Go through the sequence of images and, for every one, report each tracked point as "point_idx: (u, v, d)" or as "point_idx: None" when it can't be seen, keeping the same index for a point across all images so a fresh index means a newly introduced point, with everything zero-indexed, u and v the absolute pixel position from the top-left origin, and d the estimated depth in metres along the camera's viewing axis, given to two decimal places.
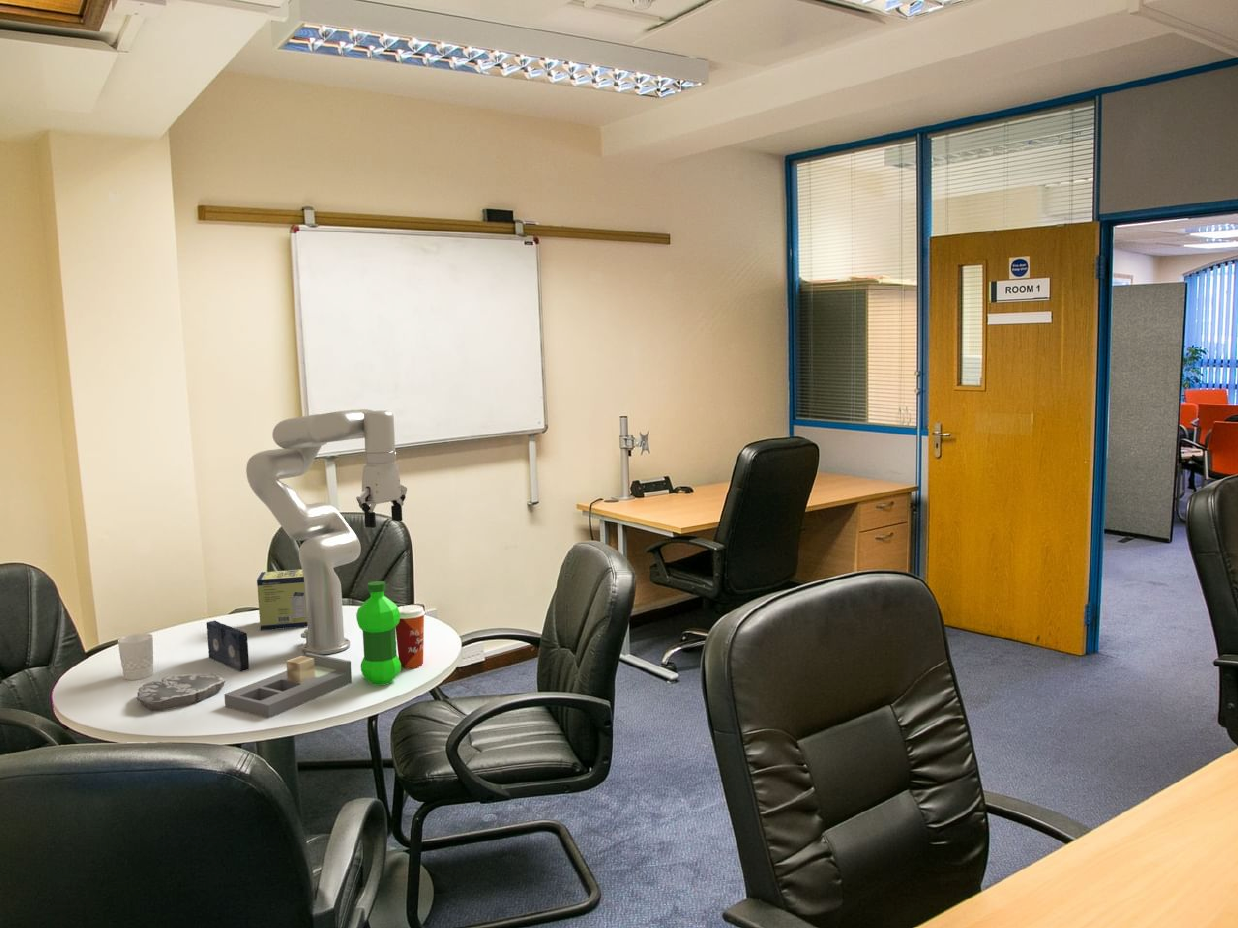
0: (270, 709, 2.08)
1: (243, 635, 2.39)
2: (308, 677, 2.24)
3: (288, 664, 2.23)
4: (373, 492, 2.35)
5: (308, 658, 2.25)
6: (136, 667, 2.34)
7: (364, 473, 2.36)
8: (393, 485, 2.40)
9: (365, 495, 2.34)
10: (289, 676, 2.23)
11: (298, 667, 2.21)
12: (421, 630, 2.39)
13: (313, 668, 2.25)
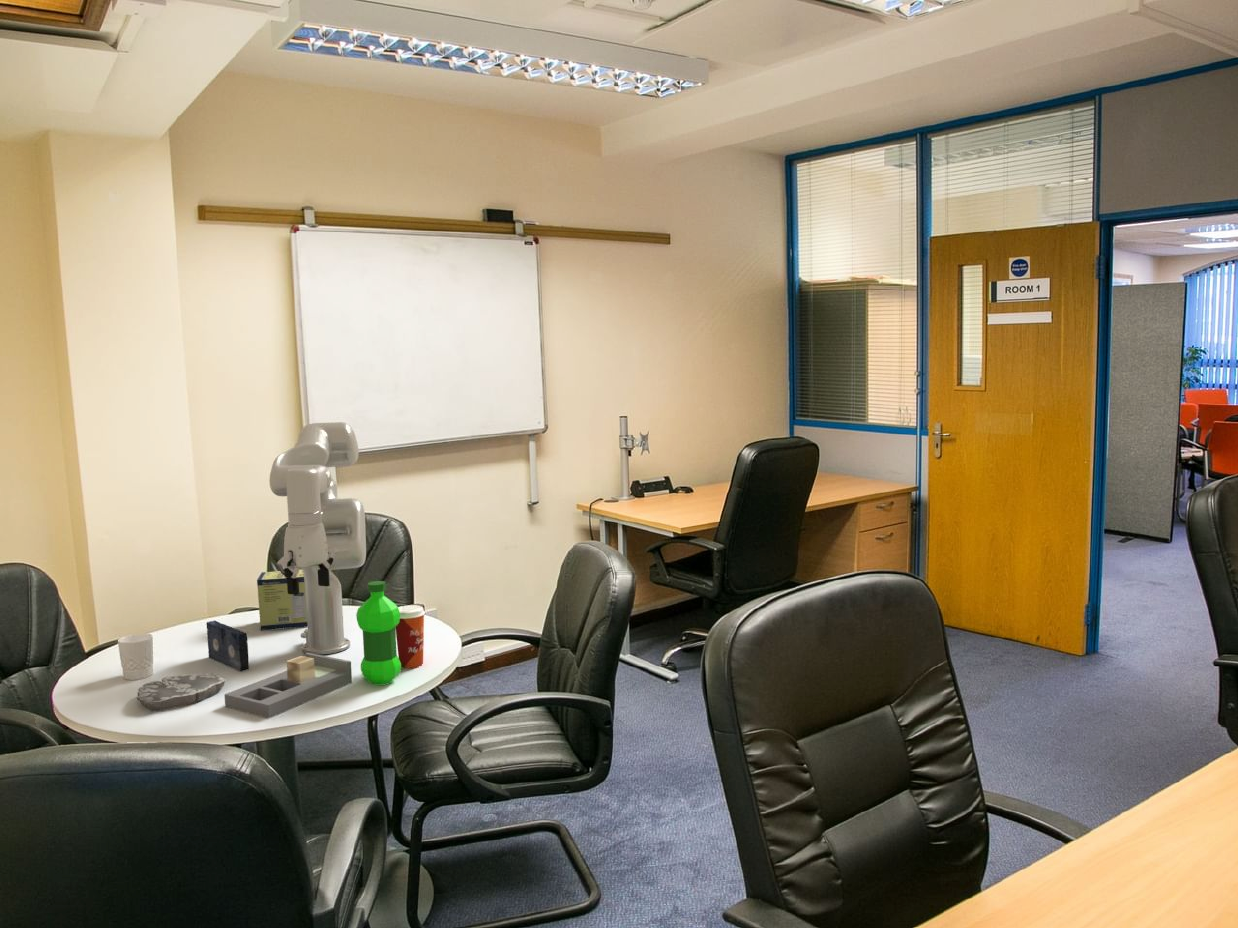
0: (270, 709, 2.08)
1: (243, 635, 2.39)
2: (308, 677, 2.24)
3: (288, 664, 2.23)
4: (296, 556, 2.17)
5: (308, 658, 2.25)
6: (136, 667, 2.34)
7: (286, 536, 2.18)
8: (319, 547, 2.23)
9: (287, 560, 2.16)
10: (289, 676, 2.23)
11: (298, 667, 2.21)
12: (421, 630, 2.39)
13: (313, 668, 2.25)
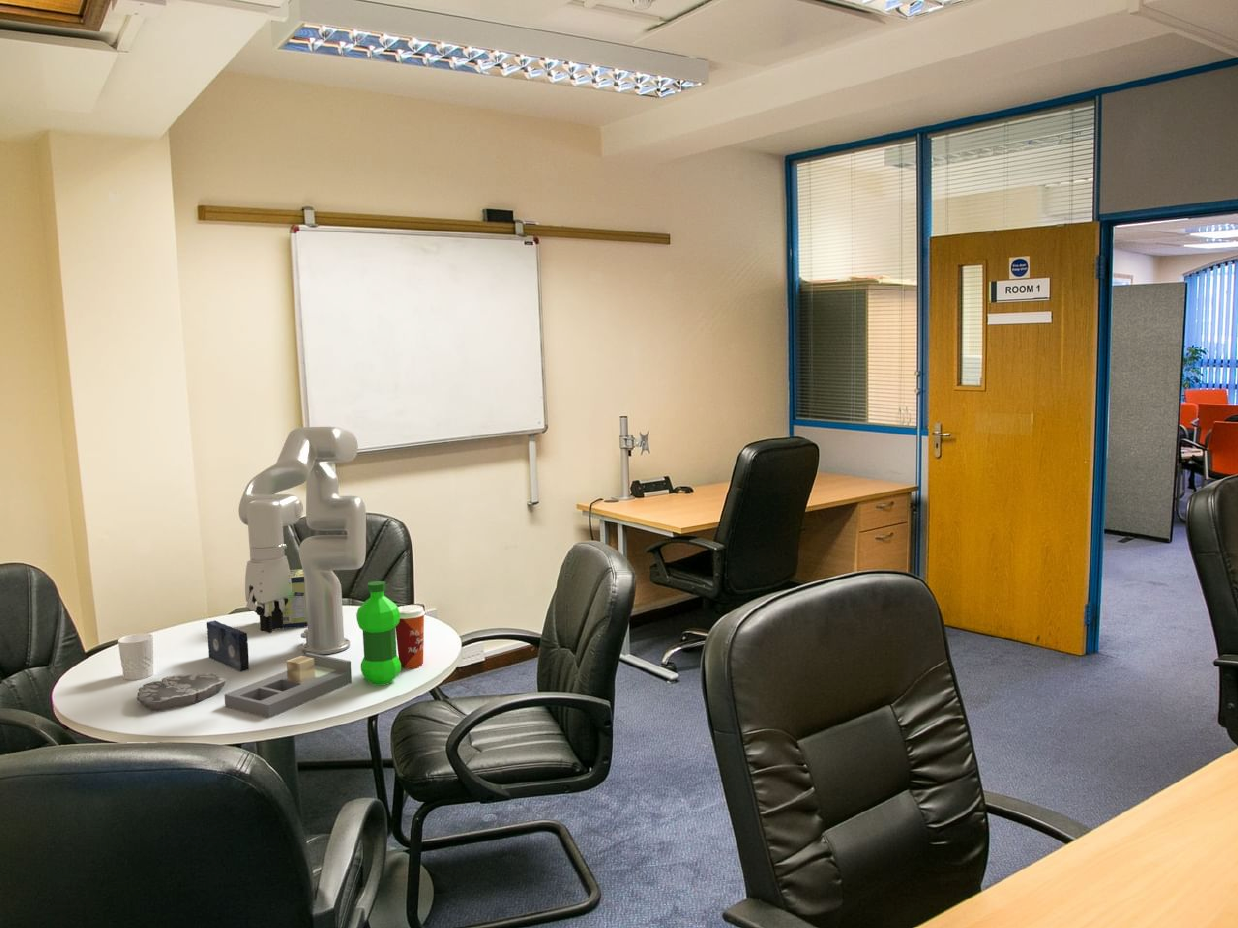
0: (270, 709, 2.08)
1: (243, 635, 2.39)
2: (308, 677, 2.24)
3: (288, 664, 2.23)
4: (256, 592, 2.10)
5: (308, 658, 2.25)
6: (136, 667, 2.34)
7: (247, 570, 2.11)
8: (282, 581, 2.15)
9: (254, 600, 2.11)
10: (289, 676, 2.23)
11: (298, 667, 2.21)
12: (421, 630, 2.39)
13: (313, 668, 2.25)
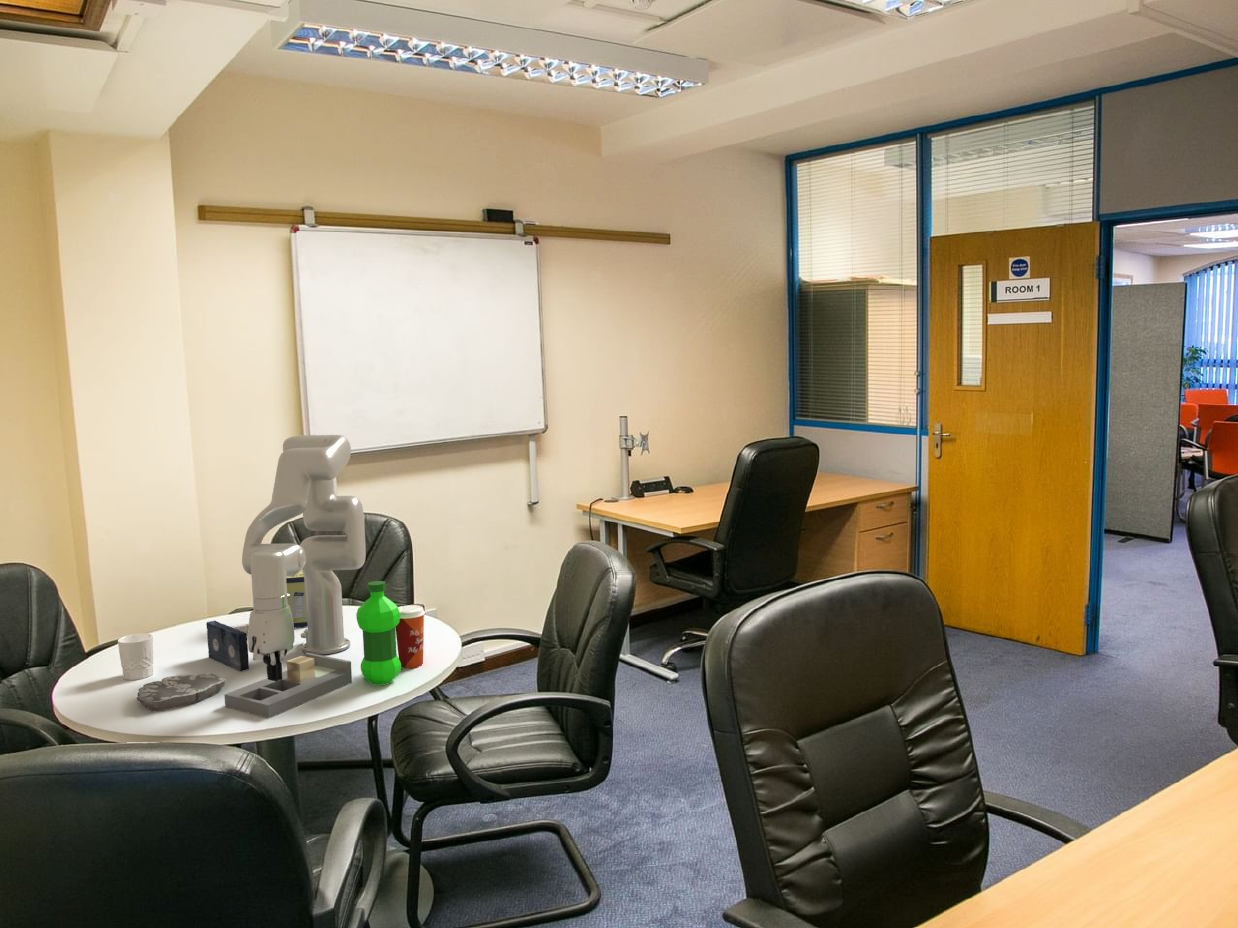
0: (270, 709, 2.08)
1: (243, 635, 2.39)
2: (308, 677, 2.24)
3: (288, 664, 2.23)
4: (259, 643, 2.11)
5: (308, 658, 2.25)
6: (136, 667, 2.34)
7: (250, 621, 2.12)
8: (285, 631, 2.17)
9: (259, 651, 2.13)
10: (289, 676, 2.23)
11: (298, 667, 2.21)
12: (421, 630, 2.39)
13: (313, 668, 2.25)
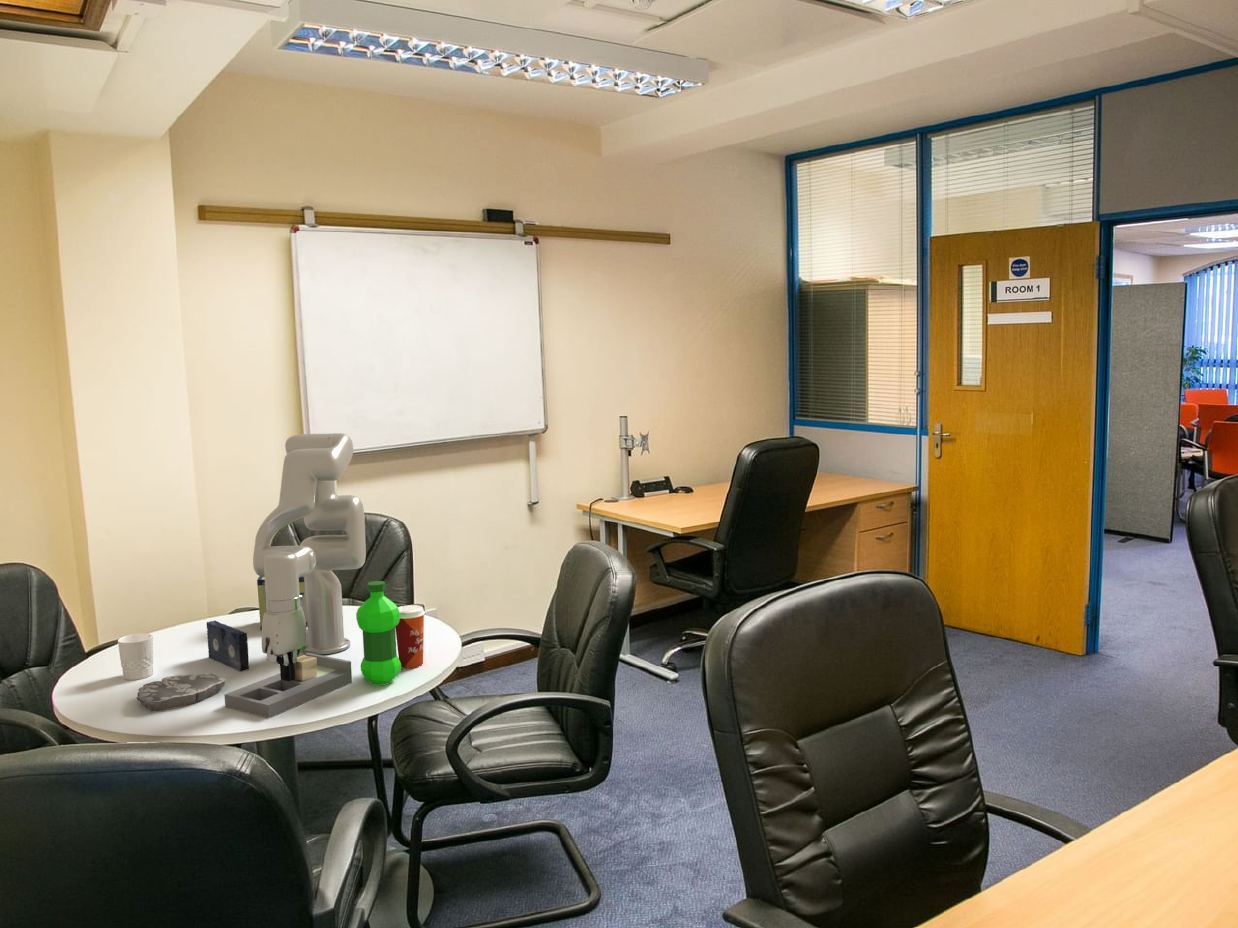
0: (270, 709, 2.08)
1: (243, 635, 2.39)
2: (310, 676, 2.24)
3: None
4: (273, 644, 2.15)
5: (311, 657, 2.25)
6: (136, 667, 2.34)
7: (264, 622, 2.16)
8: (297, 632, 2.20)
9: None
10: None
11: (300, 665, 2.22)
12: (421, 630, 2.39)
13: (315, 667, 2.25)
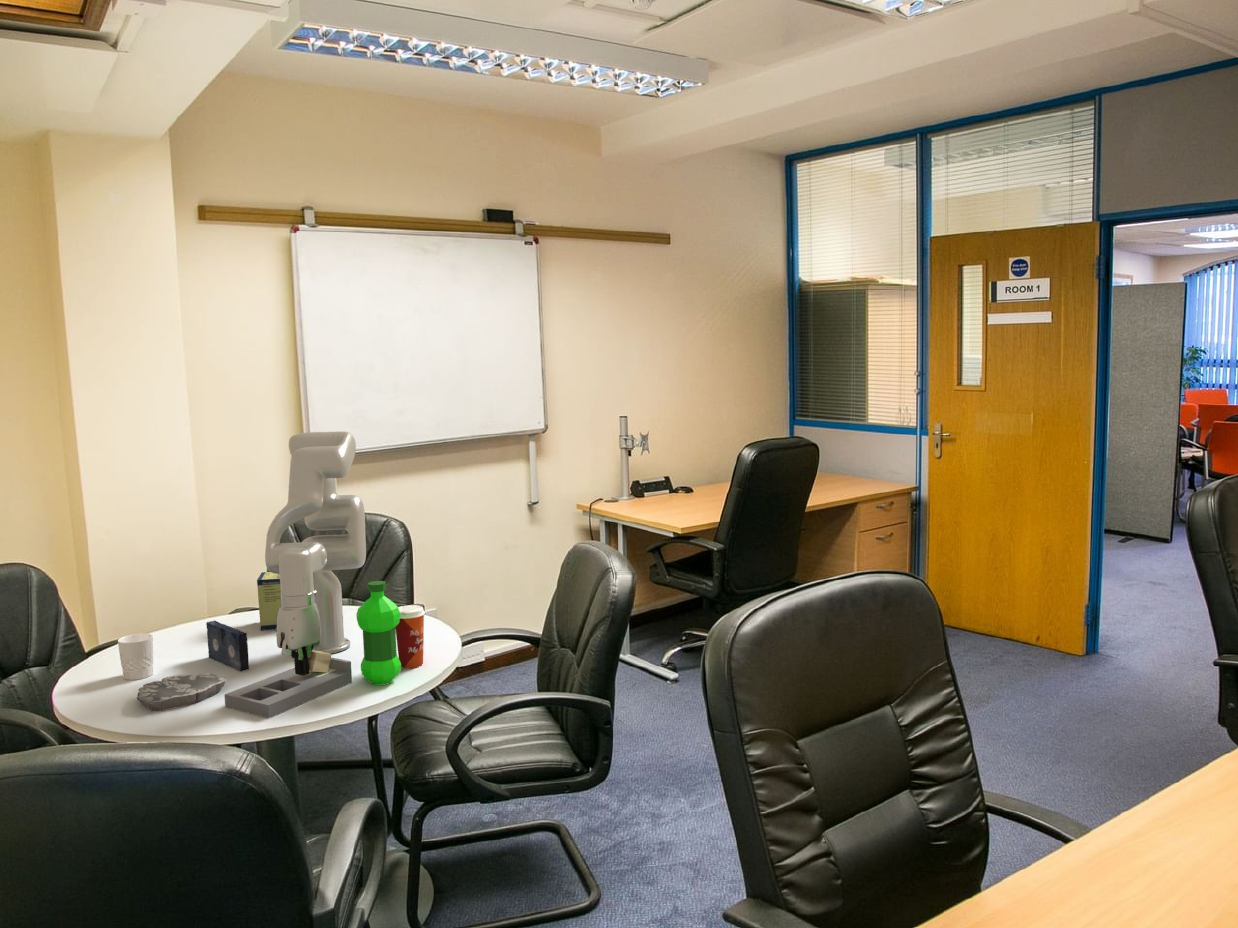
0: (270, 709, 2.08)
1: (243, 635, 2.39)
2: (321, 670, 2.27)
3: None
4: (288, 639, 2.18)
5: (326, 653, 2.29)
6: (136, 667, 2.34)
7: (279, 617, 2.19)
8: (312, 627, 2.24)
9: None
10: None
11: (314, 656, 2.25)
12: (421, 630, 2.39)
13: (328, 663, 2.28)
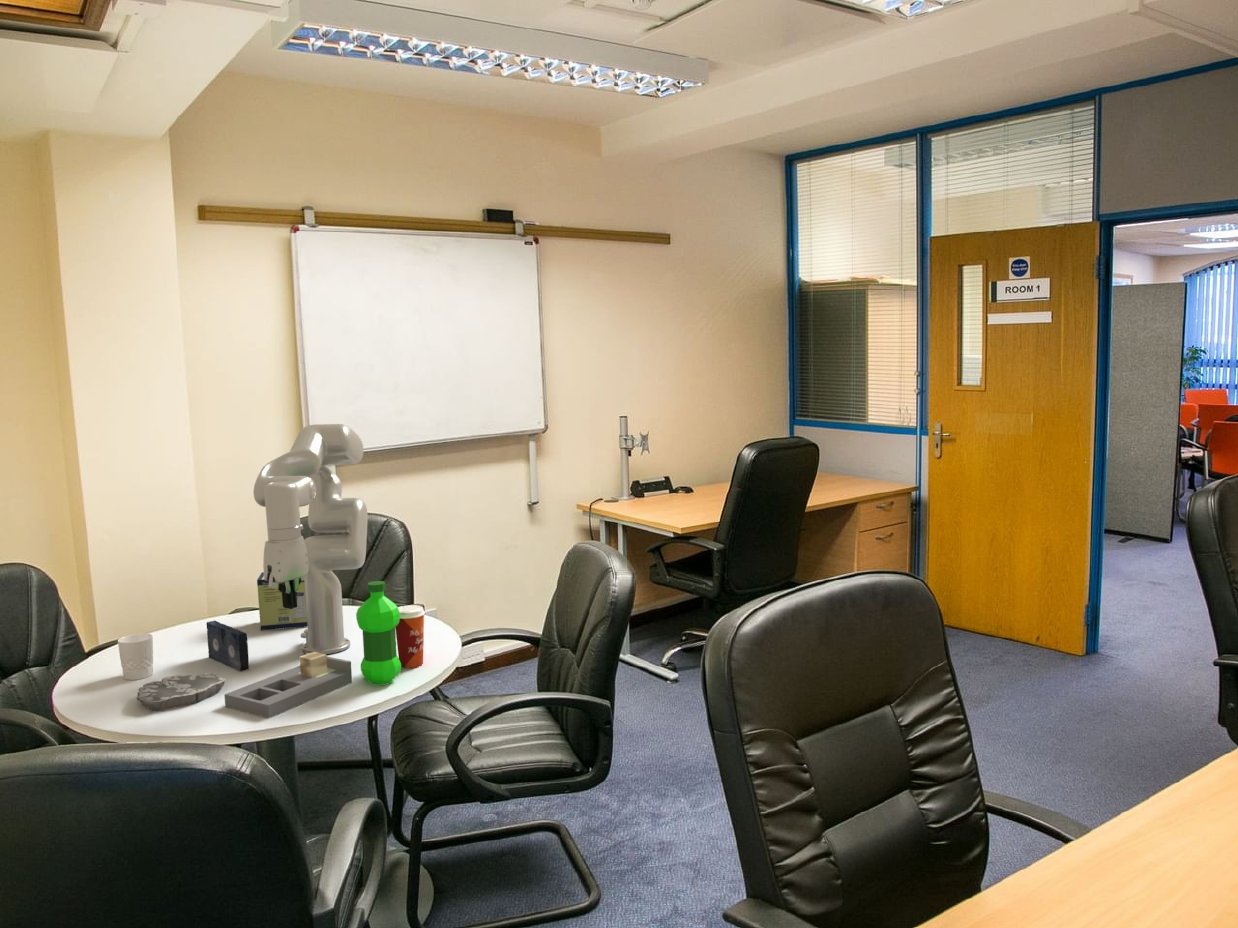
0: (270, 709, 2.08)
1: (243, 635, 2.39)
2: (320, 673, 2.26)
3: (301, 660, 2.26)
4: (275, 572, 2.17)
5: (321, 654, 2.28)
6: (136, 667, 2.34)
7: (265, 550, 2.18)
8: (299, 561, 2.22)
9: None
10: (302, 671, 2.26)
11: (309, 663, 2.24)
12: (421, 630, 2.39)
13: (325, 664, 2.27)
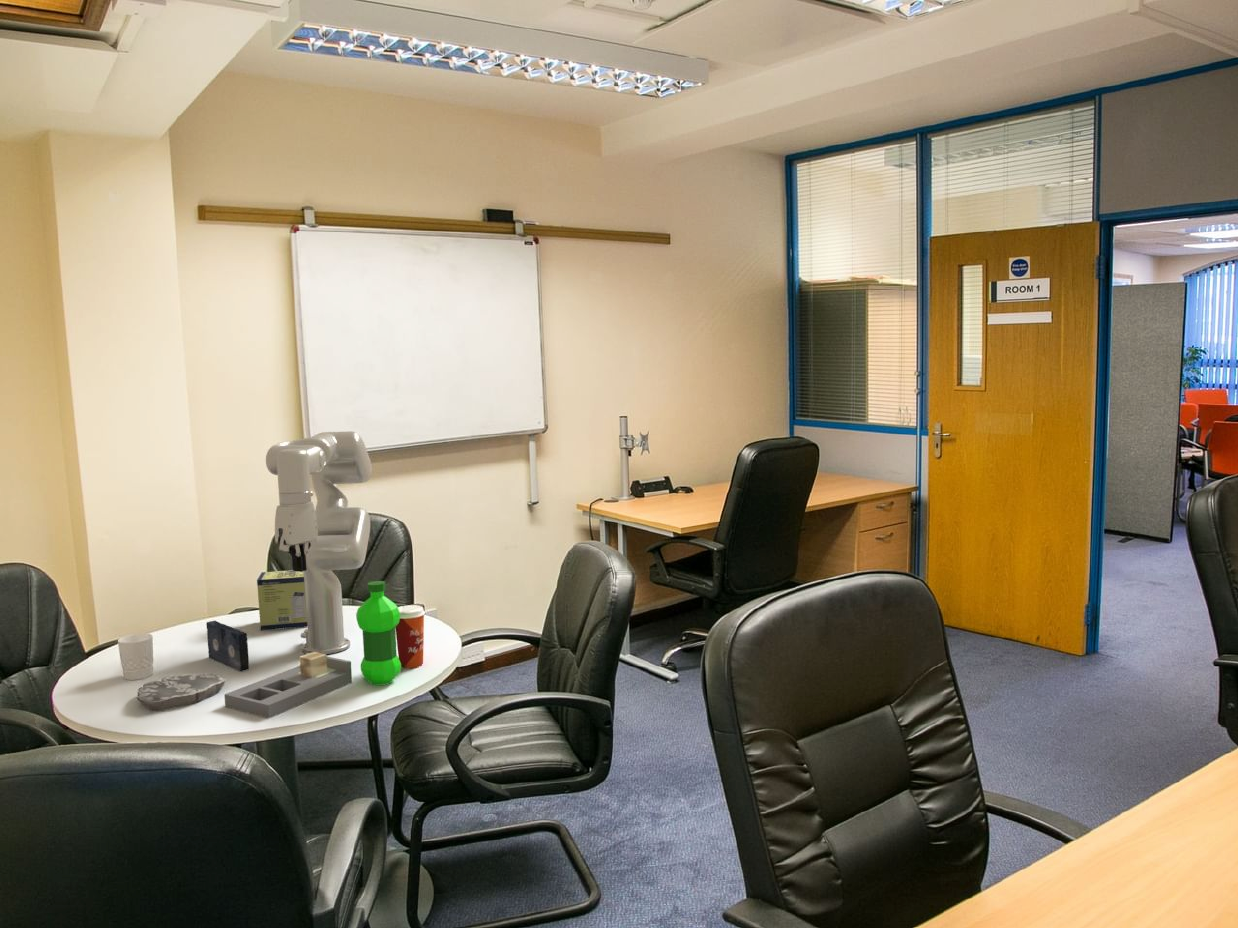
0: (270, 709, 2.08)
1: (243, 635, 2.39)
2: (320, 673, 2.26)
3: (301, 660, 2.26)
4: (286, 534, 2.26)
5: (321, 654, 2.28)
6: (136, 667, 2.34)
7: (277, 514, 2.27)
8: (309, 525, 2.31)
9: (285, 542, 2.28)
10: (302, 671, 2.26)
11: (309, 663, 2.24)
12: (421, 630, 2.39)
13: (325, 664, 2.27)
